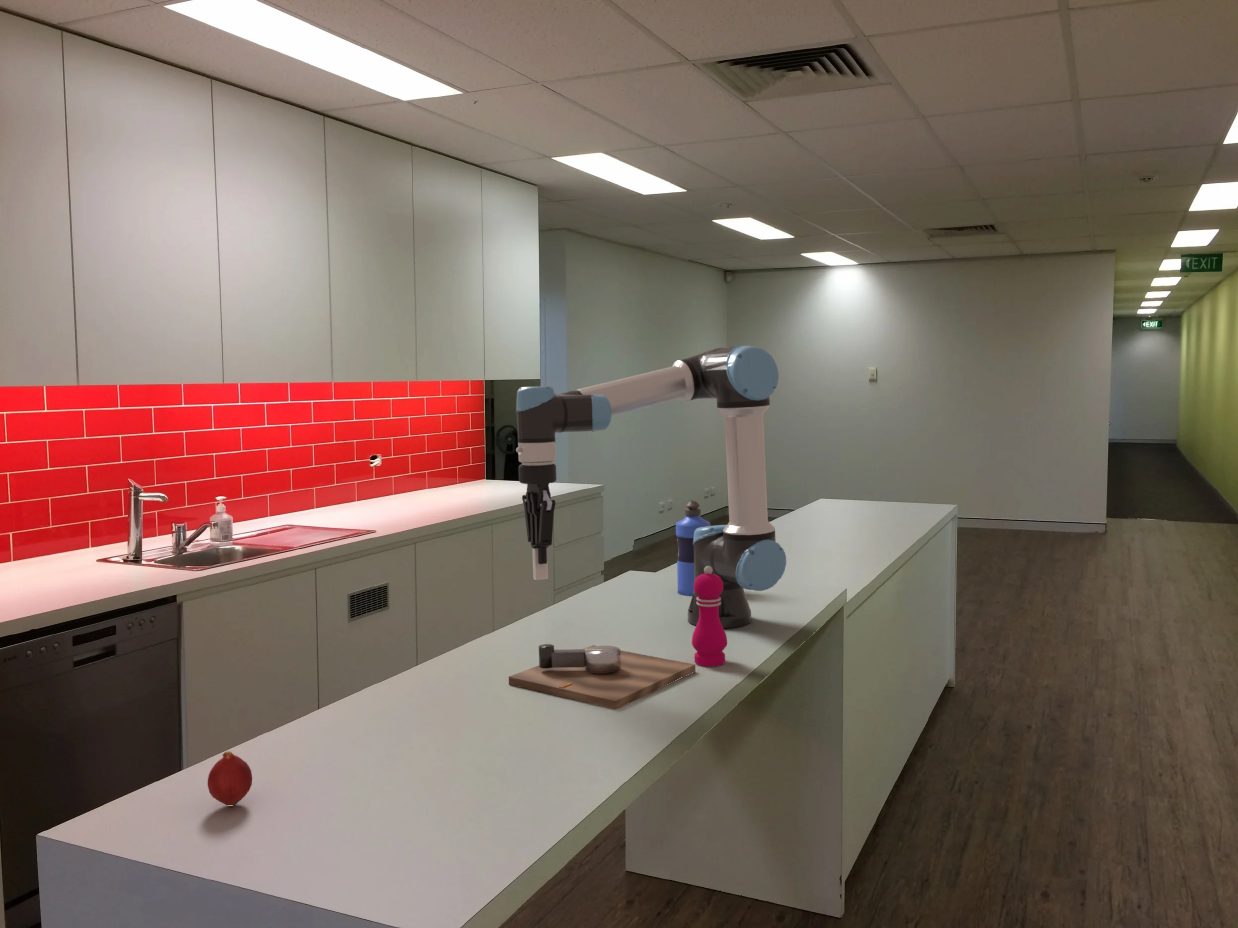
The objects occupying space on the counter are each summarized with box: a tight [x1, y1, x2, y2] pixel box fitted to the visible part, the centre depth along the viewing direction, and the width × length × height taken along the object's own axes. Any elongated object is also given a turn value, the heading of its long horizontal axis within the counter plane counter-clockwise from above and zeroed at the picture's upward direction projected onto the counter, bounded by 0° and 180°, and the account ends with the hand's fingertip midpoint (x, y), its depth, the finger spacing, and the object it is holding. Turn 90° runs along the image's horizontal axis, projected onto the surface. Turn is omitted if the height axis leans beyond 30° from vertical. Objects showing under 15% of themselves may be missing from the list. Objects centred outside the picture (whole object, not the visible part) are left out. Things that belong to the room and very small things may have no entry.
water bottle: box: [675, 500, 711, 597], centre depth 261 cm, size 9×9×25 cm
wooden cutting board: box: [508, 645, 696, 710], centre depth 189 cm, size 26×26×2 cm
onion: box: [207, 750, 253, 806], centre depth 135 cm, size 6×6×8 cm
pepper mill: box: [691, 566, 728, 668], centre depth 196 cm, size 7×7×20 cm
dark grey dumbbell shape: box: [538, 643, 621, 673], centre depth 189 cm, size 16×7×4 cm, turn 88°
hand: (540, 578), depth 196 cm, fingers closed
